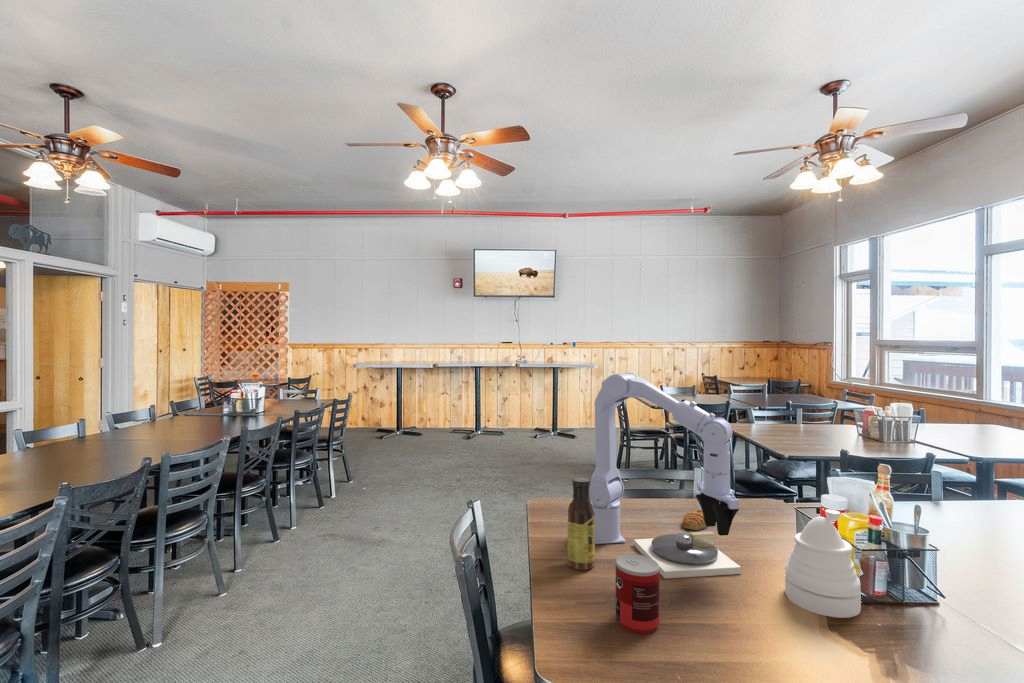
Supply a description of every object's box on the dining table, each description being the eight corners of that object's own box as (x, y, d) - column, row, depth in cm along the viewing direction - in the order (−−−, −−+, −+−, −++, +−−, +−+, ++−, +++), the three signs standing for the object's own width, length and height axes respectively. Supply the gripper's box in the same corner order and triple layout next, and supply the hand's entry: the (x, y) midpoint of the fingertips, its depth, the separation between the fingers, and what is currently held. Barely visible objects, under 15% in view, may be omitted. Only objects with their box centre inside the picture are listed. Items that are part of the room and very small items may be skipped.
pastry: (701, 534, 133) (700, 520, 134) (676, 528, 138) (676, 515, 138) (712, 524, 141) (712, 511, 141) (688, 519, 145) (688, 506, 145)
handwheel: (668, 566, 109) (668, 548, 109) (641, 539, 124) (641, 523, 124) (730, 562, 111) (730, 545, 111) (697, 536, 126) (697, 521, 126)
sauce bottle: (594, 573, 110) (594, 484, 110) (566, 570, 111) (566, 482, 112) (595, 560, 117) (595, 476, 117) (568, 558, 118) (569, 475, 118)
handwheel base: (664, 578, 108) (664, 570, 108) (633, 545, 126) (633, 538, 126) (741, 573, 110) (741, 566, 110) (700, 541, 128) (700, 535, 128)
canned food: (626, 606, 96) (626, 550, 96) (666, 621, 91) (666, 561, 91) (607, 623, 90) (607, 563, 90) (649, 640, 85) (649, 576, 85)
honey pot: (845, 589, 103) (845, 503, 103) (872, 622, 91) (872, 525, 91) (778, 581, 107) (778, 498, 107) (795, 612, 94) (795, 518, 95)
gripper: (752, 479, 107) (752, 541, 107) (715, 463, 121) (715, 518, 121) (721, 480, 106) (721, 543, 106) (689, 464, 120) (688, 519, 120)
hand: (716, 530), depth 114 cm, fingers open, 5 cm apart
